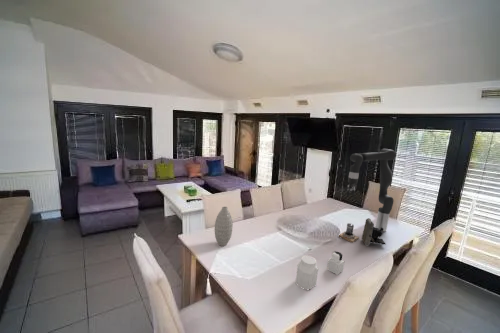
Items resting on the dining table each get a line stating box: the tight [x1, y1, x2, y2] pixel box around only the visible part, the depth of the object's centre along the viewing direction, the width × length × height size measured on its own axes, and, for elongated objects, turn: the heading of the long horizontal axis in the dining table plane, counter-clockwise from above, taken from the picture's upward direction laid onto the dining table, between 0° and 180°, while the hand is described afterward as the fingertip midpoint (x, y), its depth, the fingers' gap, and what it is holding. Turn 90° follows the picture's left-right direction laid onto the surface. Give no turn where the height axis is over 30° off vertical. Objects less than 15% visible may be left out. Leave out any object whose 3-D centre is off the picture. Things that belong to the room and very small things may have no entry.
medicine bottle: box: [326, 250, 345, 275], centre depth 147 cm, size 7×7×12 cm
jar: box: [295, 255, 319, 290], centre depth 133 cm, size 12×10×15 cm
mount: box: [338, 230, 360, 244], centre depth 194 cm, size 12×12×4 cm
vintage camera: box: [361, 218, 387, 246], centre depth 185 cm, size 10×15×20 cm, turn 78°
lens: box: [345, 222, 354, 236], centre depth 193 cm, size 5×5×10 cm
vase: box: [214, 206, 234, 247], centre depth 167 cm, size 13×13×28 cm
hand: (350, 195), depth 200 cm, fingers open, 8 cm apart
